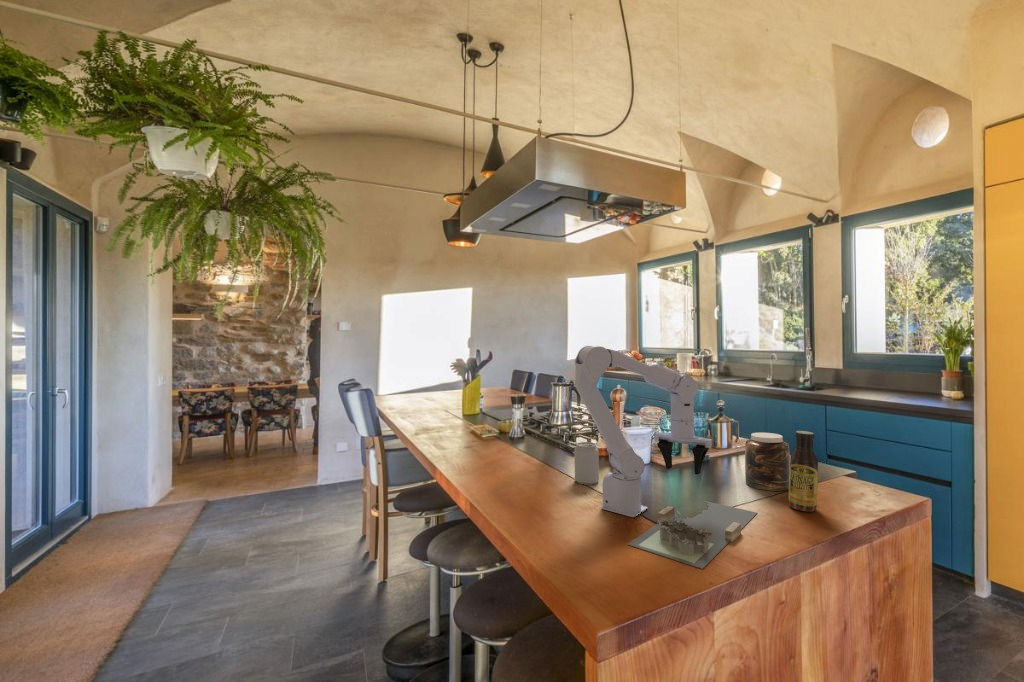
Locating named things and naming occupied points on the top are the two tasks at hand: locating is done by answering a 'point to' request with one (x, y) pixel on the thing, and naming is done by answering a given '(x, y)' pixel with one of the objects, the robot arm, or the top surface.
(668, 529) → the egg carton
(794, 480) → the sauce bottle
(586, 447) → the can
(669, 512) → the lane walls
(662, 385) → the robot arm
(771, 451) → the jar
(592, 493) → the top surface
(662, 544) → the lane mat
